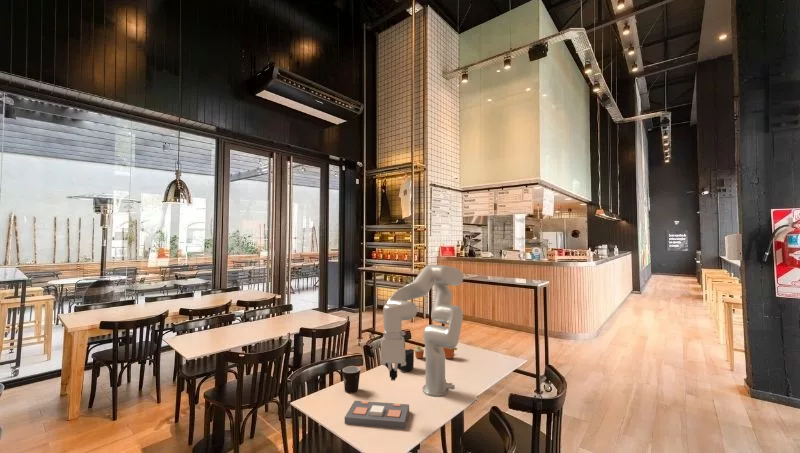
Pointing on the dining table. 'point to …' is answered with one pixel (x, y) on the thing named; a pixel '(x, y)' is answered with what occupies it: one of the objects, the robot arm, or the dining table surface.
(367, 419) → the keypad housing
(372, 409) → the key middle
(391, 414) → the key
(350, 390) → the coffee mug
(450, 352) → the potted plants
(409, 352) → the pen holder
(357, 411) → the key
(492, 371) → the dining table surface
